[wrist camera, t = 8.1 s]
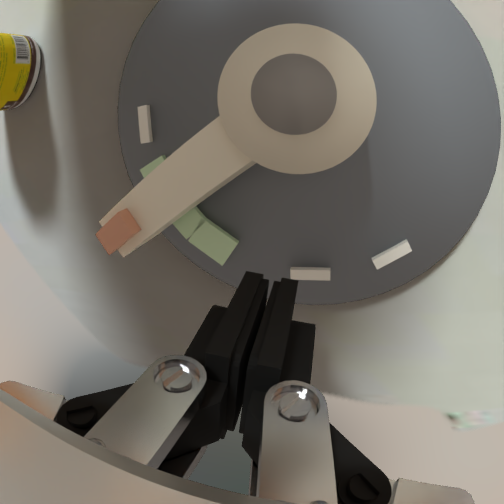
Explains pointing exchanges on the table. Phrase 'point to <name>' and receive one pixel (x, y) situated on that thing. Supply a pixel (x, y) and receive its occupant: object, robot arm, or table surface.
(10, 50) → the supplement bottle
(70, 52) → the table surface
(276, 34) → the lever
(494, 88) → the dial
